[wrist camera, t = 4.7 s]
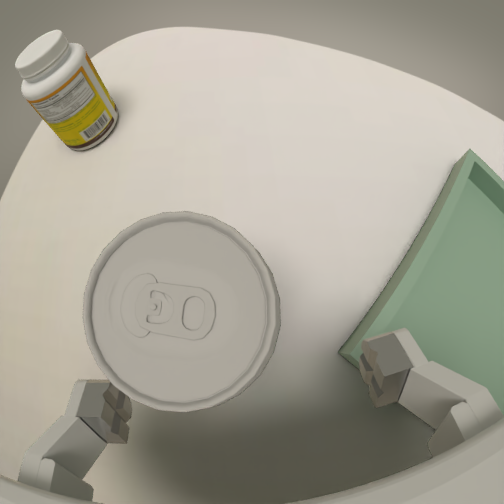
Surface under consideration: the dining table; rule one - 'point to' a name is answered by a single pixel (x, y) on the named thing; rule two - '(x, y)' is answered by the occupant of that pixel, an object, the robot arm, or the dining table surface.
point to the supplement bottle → (66, 90)
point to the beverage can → (181, 312)
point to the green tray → (451, 282)
